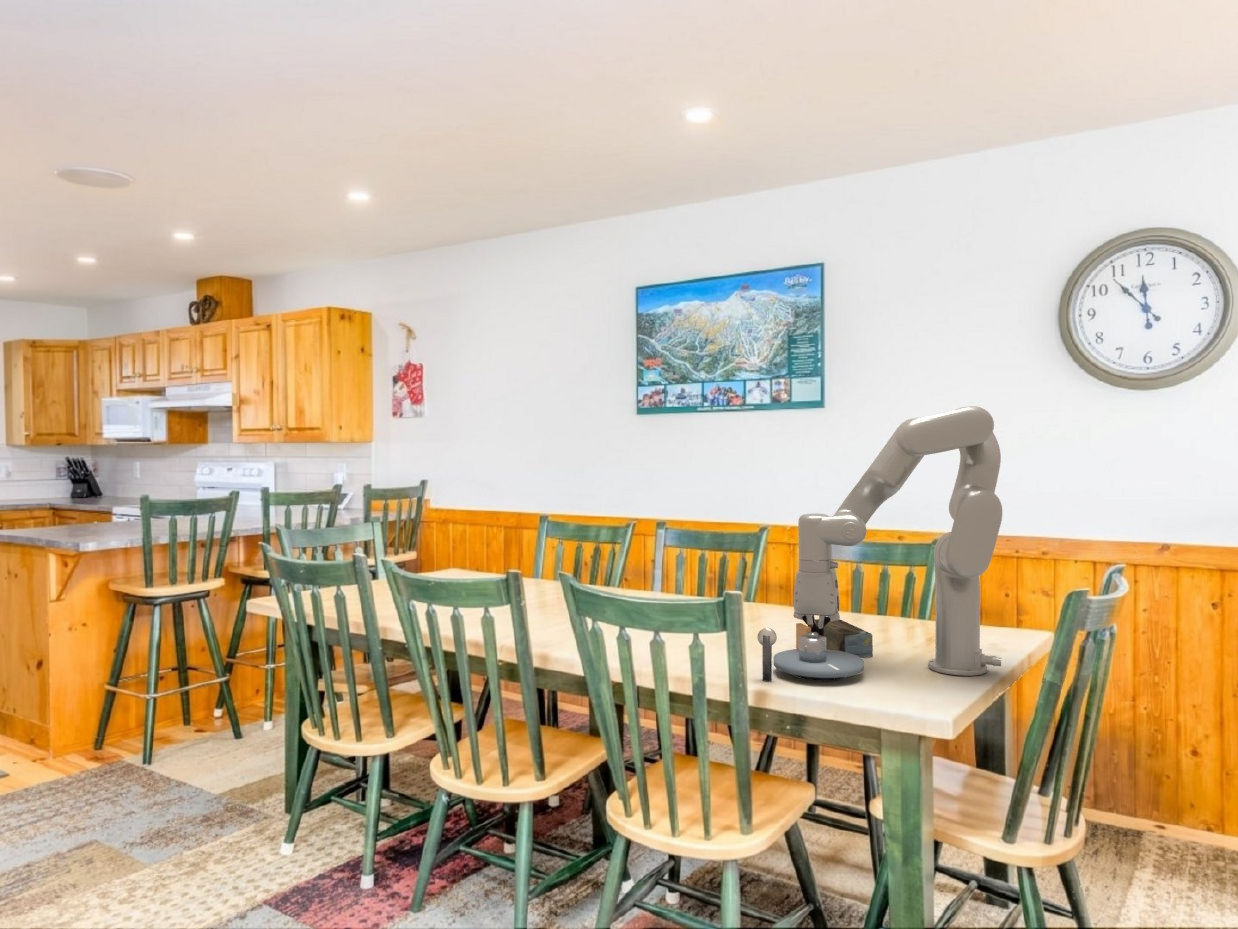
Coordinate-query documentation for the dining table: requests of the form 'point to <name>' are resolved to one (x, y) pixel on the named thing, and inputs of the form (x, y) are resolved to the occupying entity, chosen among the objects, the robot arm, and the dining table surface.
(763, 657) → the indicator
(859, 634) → the beverage carton
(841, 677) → the pedestal
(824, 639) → the cover
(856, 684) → the dining table surface
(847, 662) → the turntable
